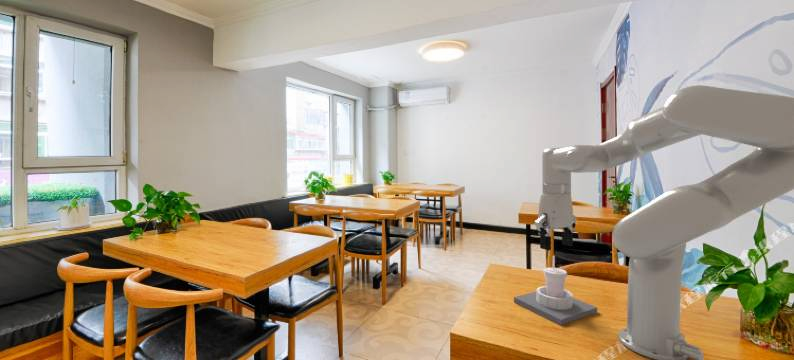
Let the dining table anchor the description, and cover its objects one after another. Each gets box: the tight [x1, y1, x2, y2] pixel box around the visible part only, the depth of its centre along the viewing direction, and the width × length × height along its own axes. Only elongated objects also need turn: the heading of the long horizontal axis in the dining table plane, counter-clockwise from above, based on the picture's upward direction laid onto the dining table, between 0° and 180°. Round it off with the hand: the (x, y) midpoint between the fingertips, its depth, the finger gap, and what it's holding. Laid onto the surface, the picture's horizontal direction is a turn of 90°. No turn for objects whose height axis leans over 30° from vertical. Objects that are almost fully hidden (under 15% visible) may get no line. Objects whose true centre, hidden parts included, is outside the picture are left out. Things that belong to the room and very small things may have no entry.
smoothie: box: [543, 255, 568, 298], centre depth 93 cm, size 6×6×14 cm
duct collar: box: [513, 285, 598, 326], centre depth 93 cm, size 16×16×4 cm
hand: (556, 247), depth 92 cm, fingers open, 9 cm apart
